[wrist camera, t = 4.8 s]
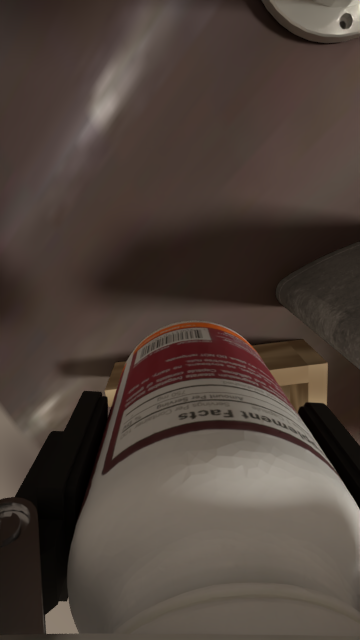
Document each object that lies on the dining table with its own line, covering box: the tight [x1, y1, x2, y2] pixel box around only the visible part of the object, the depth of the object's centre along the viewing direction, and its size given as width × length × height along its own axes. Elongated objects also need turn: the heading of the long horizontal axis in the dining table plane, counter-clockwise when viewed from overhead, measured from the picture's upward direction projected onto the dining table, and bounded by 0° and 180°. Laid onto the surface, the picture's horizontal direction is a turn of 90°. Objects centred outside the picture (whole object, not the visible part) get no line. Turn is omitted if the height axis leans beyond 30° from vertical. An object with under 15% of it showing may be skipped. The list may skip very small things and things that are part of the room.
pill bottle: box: [67, 321, 360, 636], centre depth 9 cm, size 6×6×11 cm
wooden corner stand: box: [105, 339, 328, 413], centre depth 31 cm, size 18×18×5 cm
